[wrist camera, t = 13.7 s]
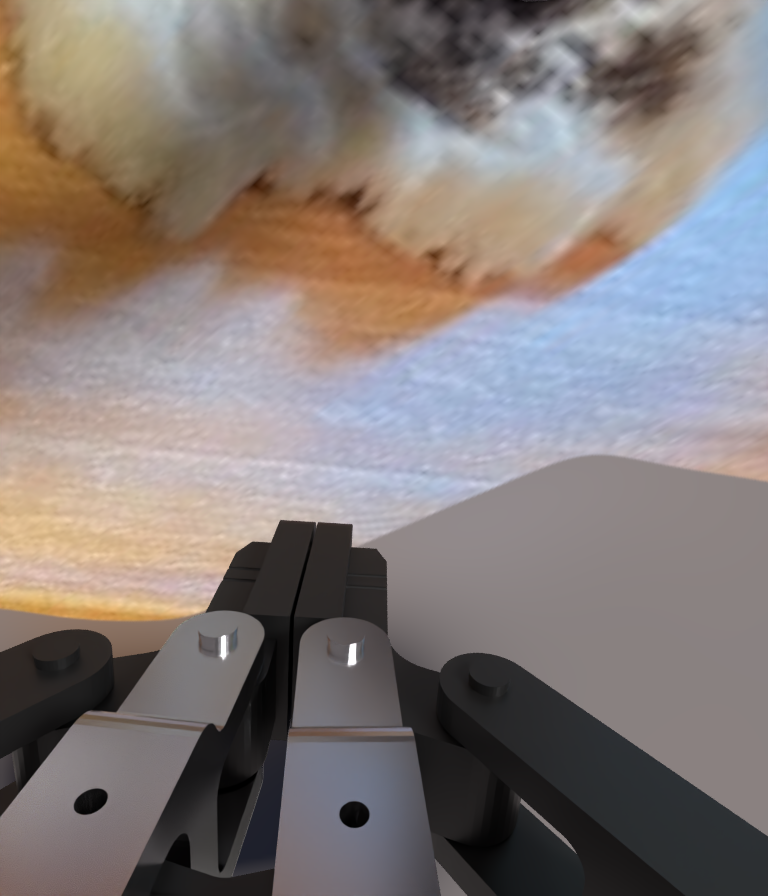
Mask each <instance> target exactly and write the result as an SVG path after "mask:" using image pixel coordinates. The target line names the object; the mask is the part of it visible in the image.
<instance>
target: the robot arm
mask: <svg viewBox="0 0 768 896" xmlns="http://www.w3.org/2000/svg"><path fill="white" fill-rule="evenodd" d="M521 1H526V2H533V1H547V0H521ZM352 528H353V524H338V523H322V522H318V524H317V528H316V523H315V522H304V521H287V520H280V522H279V524H278V527H277V529H276V532H275V534H274V537H273V539H272V542H271V543H268V542H251V543H250V544H248V545H247V546H245V547H244V548H242V549H241V550H240V551H238V552H237V553H236V554H235V556H234V558H233V560H232V562H231V564H230V566H229V569H228V570H227V572H226V574H225V576H224V578H223V581H222V582H221V583H220V585H219V587H218V589H217V591H216V593H215V595H214V597H213V599H212V601H211V603H210V605H209V607H208V609H207V611H206V613H203V614H200V615H197V616H194V617H192V618H190V619H188V620H186V621H185V622H183V623H182V624H181V625H179V626H178V627H177V628H176V629H175V630H174V632H173V633H172V634H171V636H170V637H169V639H168V640H167V641H166V643H165V644H164V646H163V647H162V649H161V650H158V651H154V652H149V653H144V654H137V655H131V656H124V657H117V658H113V655H112V645H111V643H110V641H109V640H108V639H107V638H106V637H105V636H104V635H102V634H100V633H97V632H94V631H89V630H79V629H78V630H64V631H58V632H53V633H49V634H45V635H43V636H40V637H37V638H34V639H32V640H29V641H27V642H24V643H22V644H20V645H17V646H15V647H12V648H10V649H8V650H5V651H3V652H0V758H2V757H4V756H6V755H8V754H10V753H12V758H13V765H14V772H15V778H16V781H15V782H13V783H11V784H9V785H8V786H6V787H4V788H2V789H1V790H0V896H441V894H440V887H439V881H438V875H437V870H436V863H435V859H436V860H437V861H438V862H439V864H441V866H442V867H443V868H444V869H445V870H446V872H447V873H448V874H449V875H450V876H451V877H452V878H453V880H454V881H455V882H456V883H457V884H458V885H459V886H460V888H461V889H462V890H463V891H464V892H465V893H466V894H467V896H768V836H766V835H765V834H763V833H762V832H761V831H759V830H758V829H756V828H755V827H753V826H752V825H750V824H749V823H747V822H746V821H745V820H743V819H741V818H740V817H739V816H737V815H736V814H734V813H733V812H732V811H730V810H729V809H727V808H726V807H724V806H723V805H721V804H720V803H718V802H717V801H716V800H714V799H713V798H711V797H710V796H708V795H707V794H705V793H704V792H702V791H701V790H699V789H698V788H697V787H695V786H694V785H692V784H691V783H689V782H688V781H686V780H685V779H683V778H682V777H681V776H679V775H678V774H676V773H675V772H673V771H672V770H670V769H669V768H667V767H666V766H665V765H663V764H662V763H660V762H659V761H657V760H656V759H654V758H653V757H651V756H650V755H649V754H647V753H646V752H644V751H643V750H641V749H639V748H638V747H637V746H635V745H634V744H633V743H631V742H630V741H628V740H627V739H625V738H624V737H622V736H621V735H619V734H618V733H617V732H615V731H614V730H612V729H611V728H609V727H607V726H606V725H605V724H603V723H602V722H601V721H599V720H598V719H596V718H595V717H593V716H592V715H590V714H589V713H587V712H586V711H584V710H583V709H582V708H580V707H579V706H577V705H576V704H574V703H573V702H571V701H570V700H568V699H567V698H566V697H564V696H563V695H561V694H560V693H558V692H557V691H555V690H554V689H552V688H551V687H550V686H548V685H546V684H545V683H544V682H542V681H541V680H539V679H538V678H536V677H535V676H534V675H532V674H531V673H529V672H528V671H526V670H525V669H523V668H522V667H520V666H519V665H517V664H516V663H514V662H512V661H510V660H508V659H505V658H502V657H499V656H496V655H492V654H485V653H468V654H463V655H459V656H457V657H454V658H453V659H451V660H449V661H448V662H447V663H446V664H445V665H444V666H443V668H442V669H441V672H440V673H439V672H436V671H433V670H429V669H426V668H423V667H420V666H417V665H415V664H413V663H411V662H409V661H407V660H405V659H404V658H402V657H401V656H400V655H399V654H398V653H397V652H396V651H395V650H394V649H393V648H392V646H391V643H390V639H389V638H388V632H387V630H388V629H387V562H386V560H385V559H384V558H383V557H382V555H381V554H380V553H379V552H378V550H377V549H370V548H354V547H352ZM290 722H291V727H290ZM289 727H290V728H289ZM288 732H289V734H288ZM287 737H288V744H287V753H286V763H285V773H284V783H283V794H282V803H281V814H280V823H279V834H278V843H277V852H276V862H275V869H271V870H265V871H260V872H256V873H251V874H246V875H241V876H236V877H232V875H233V871H234V868H235V865H236V862H237V859H238V856H239V853H240V850H241V847H242V844H243V841H244V838H245V835H246V831H247V828H248V825H249V822H250V819H251V816H252V813H253V810H254V807H255V804H256V801H257V797H258V794H259V791H260V788H261V785H262V781H263V763H264V761H265V759H266V756H267V752H268V748H269V743H270V740H287ZM521 798H522V799H523V800H524V801H525V802H526V803H527V804H528V805H530V806H531V807H532V808H533V809H534V810H535V811H536V812H537V813H538V814H540V815H541V816H542V817H543V818H544V819H545V820H546V821H547V822H549V823H550V824H551V825H552V826H553V827H554V828H555V829H556V830H557V831H559V832H560V833H561V834H562V835H563V836H564V837H565V838H566V839H567V840H568V841H569V843H570V844H571V845H572V847H573V848H574V849H575V851H576V853H577V854H576V853H575V852H574V851H573V850H572V849H571V848H569V847H568V846H567V845H566V844H565V843H564V842H563V841H562V840H561V839H560V838H558V837H557V836H556V835H555V834H554V833H553V832H552V831H551V830H550V829H548V828H547V827H546V826H545V825H544V824H543V823H542V822H541V821H540V820H539V819H537V818H536V817H535V816H534V815H533V814H532V813H531V812H530V811H529V810H527V809H526V808H525V807H524V806H523V805H522V804H521V803H520V801H521Z"/></svg>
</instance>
